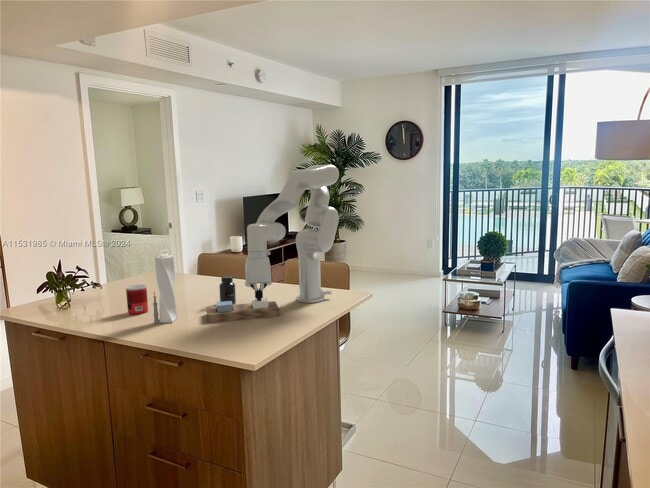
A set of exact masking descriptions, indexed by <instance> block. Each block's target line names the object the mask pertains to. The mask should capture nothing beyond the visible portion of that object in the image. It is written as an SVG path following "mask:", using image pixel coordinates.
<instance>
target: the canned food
mask: <svg viewBox="0 0 650 488" xmlns="http://www.w3.org/2000/svg"><path fill="white" fill-rule="evenodd" d="M125 292H126V293H125V294H126V304H127V312H128V315H130V316H138V315H139V316H140V315H143V314H146V313H148V311H149V303H148V291H147V285H145V284H135V285H134V284H133V285H130V286H127V287H126V288H125Z"/></svg>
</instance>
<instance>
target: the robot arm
mask: <svg viewBox="0 0 650 488" xmlns="http://www.w3.org/2000/svg"><path fill="white" fill-rule="evenodd" d="M339 177H340V171H339V169H338V168H337V167H336V166H335V165H333V164H317V165H311V166H308V167H306V168H305V169H304V168H303V169H295V170H293V171H292V172H291V173H290V175H289V176H288V178H287V180H286V181H285V184H284V185H283V187H282V189H281V191H280V193H279V194H278V197H277V198H275V199H274V200H273V201H272V202H271V203H270V204H269V205H267V206H266V207H265V208H264V209H263V210H262V212H261V213H260V215H259V216H258V218H257V221H256V222H255V223H251V224H248V225H247V228H246V231H247V232H246V233H247V234H246V235H247V237H246V238H247V257H246V259H245V263H244V264H245V266H244V268H245V269H244V270H245V271H244V274H245V275H244V277H245V278H244V279H245V283H244V285H245V287H248V288H251V289H253V290H254V298H257V301H259V300H260V301H261V298H264V295H263V294H264V293H263V292H264V289H265V288H266V287H268V286H272V285H273V282H272V269H271V263H270V262H271V261H270V258H269V257H268V256H271V251H268V245H267V243H268V242H269V241H270V242H278V241H280V240H283V238H285V236H286V234H287V233H286V232H287V229H286V227H285V226H284V225H283V224H282V223H280V222H276V220H277V219H278V218H279V217H281V216H283V215H284V214H286V213H289V212H290V211H292V210H295V208H296V207H297V206H298V204H299V202H300V200H301V198H302V196H303V194H304V192H305V191H306V190H310V198H309V202H308V206H307V209H306V213H305V217H304V220H305V224H306V225H307V226H309V227H311V228H312V229H311V228H304V229H301V230H299V232H297V234H296V236H295V245H296V250H297V257H298V280H299V281H298V282H299V295H297V296H296V298H295V299H296V301H297V302H299V303H304V304H305V303H306V304H309V303H310V304H311V303H312V304H313V303H319V302H323V301H324V300H325V295H332V292H333V291H332V290H331V289H329V290H328V289H323V288H322V286H321V285H322V282H321V278H322V277H321V258H320V254H319V253H324V254H325V253H328V251H330V250H331V249H332V247H333V244H334V241H335V237H336V234H337V230H338V226H339V220H340V218H339V217H340V216H339V212H338V210H337V209H336V208H334V207H332V206H329V204H330V203H329V202H330V198H331V197H330V192H329V188H328V186H332V185H334V184H336V183H337V181H338V180H339ZM313 228H314V229H313ZM315 228H316V229H315ZM317 228H318V229H317ZM257 284H260V285H259V288H258V285H257Z"/></svg>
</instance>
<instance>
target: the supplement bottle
mask: <svg viewBox="0 0 650 488" xmlns="http://www.w3.org/2000/svg"><path fill="white" fill-rule="evenodd" d="M233 280H234V279H233V276H232V275H224V276H221V281H220V283H219V285H218V286H219V288H218V289H219V302H224V301H232V304H233V305H236V298H237V297H236V284H235V282H233Z"/></svg>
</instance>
